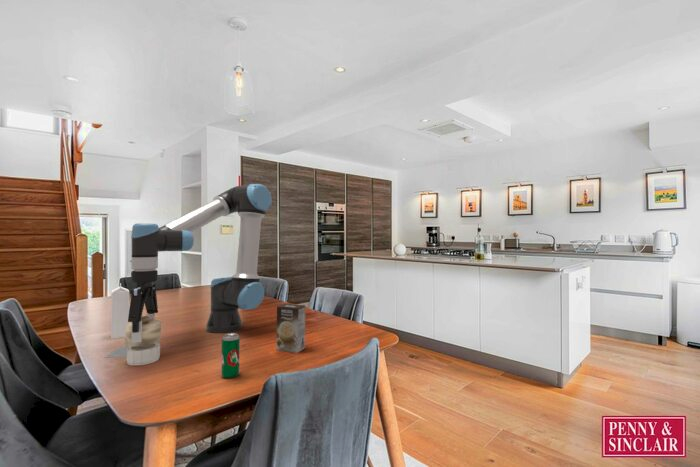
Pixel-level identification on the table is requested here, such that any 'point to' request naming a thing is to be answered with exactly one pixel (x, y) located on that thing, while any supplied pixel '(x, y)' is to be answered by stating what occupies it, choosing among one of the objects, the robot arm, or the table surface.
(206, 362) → the table surface
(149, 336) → the beige round piece
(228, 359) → the soda can
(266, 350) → the table surface
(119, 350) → the mat
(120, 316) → the milk
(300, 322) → the coffee box
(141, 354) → the bowl
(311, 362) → the table surface
